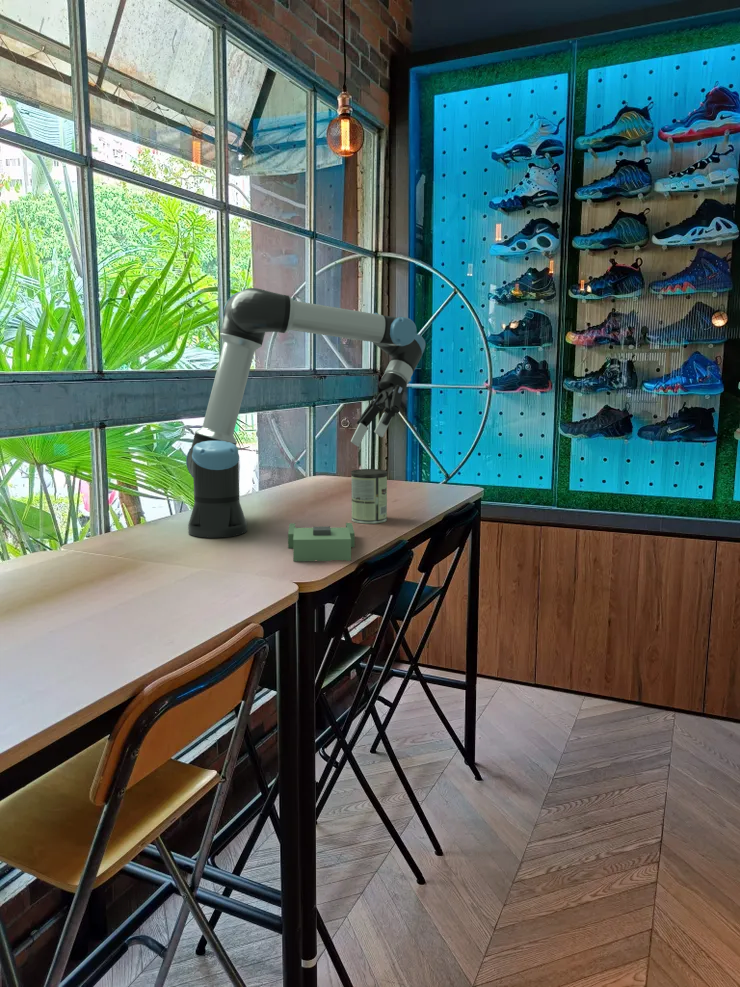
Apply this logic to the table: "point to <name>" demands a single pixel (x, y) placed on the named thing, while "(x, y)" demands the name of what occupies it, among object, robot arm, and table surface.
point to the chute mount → (321, 543)
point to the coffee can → (369, 496)
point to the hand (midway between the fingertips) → (366, 439)
